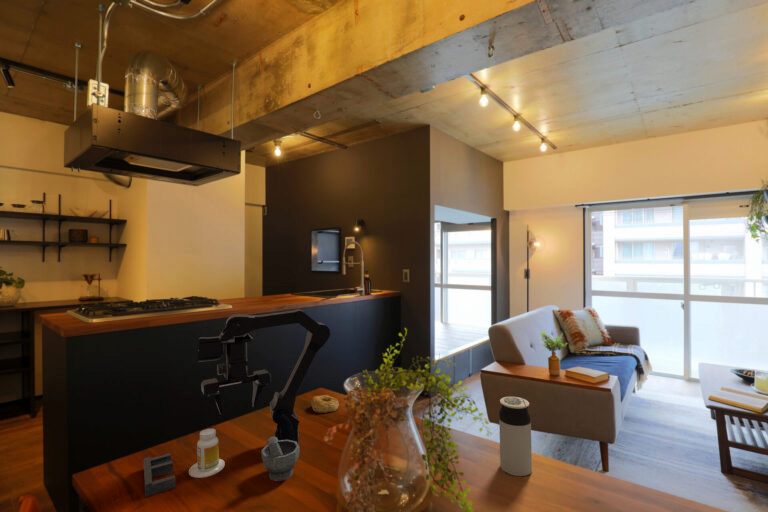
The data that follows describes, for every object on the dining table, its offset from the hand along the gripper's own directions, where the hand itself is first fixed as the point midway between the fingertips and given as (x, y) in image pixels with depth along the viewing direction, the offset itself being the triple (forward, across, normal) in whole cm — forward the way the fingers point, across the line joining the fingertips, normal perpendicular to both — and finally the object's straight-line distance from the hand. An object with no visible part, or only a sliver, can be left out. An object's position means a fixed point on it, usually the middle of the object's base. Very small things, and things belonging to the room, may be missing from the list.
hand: (237, 410), depth 111 cm
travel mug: (+13, -60, +52) cm, 80 cm away
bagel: (+13, -35, -16) cm, 41 cm away
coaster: (+13, +9, +3) cm, 16 cm away
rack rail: (+13, +20, 0) cm, 24 cm away
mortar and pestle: (+13, -7, +18) cm, 23 cm away
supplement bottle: (+13, +8, +3) cm, 16 cm away
